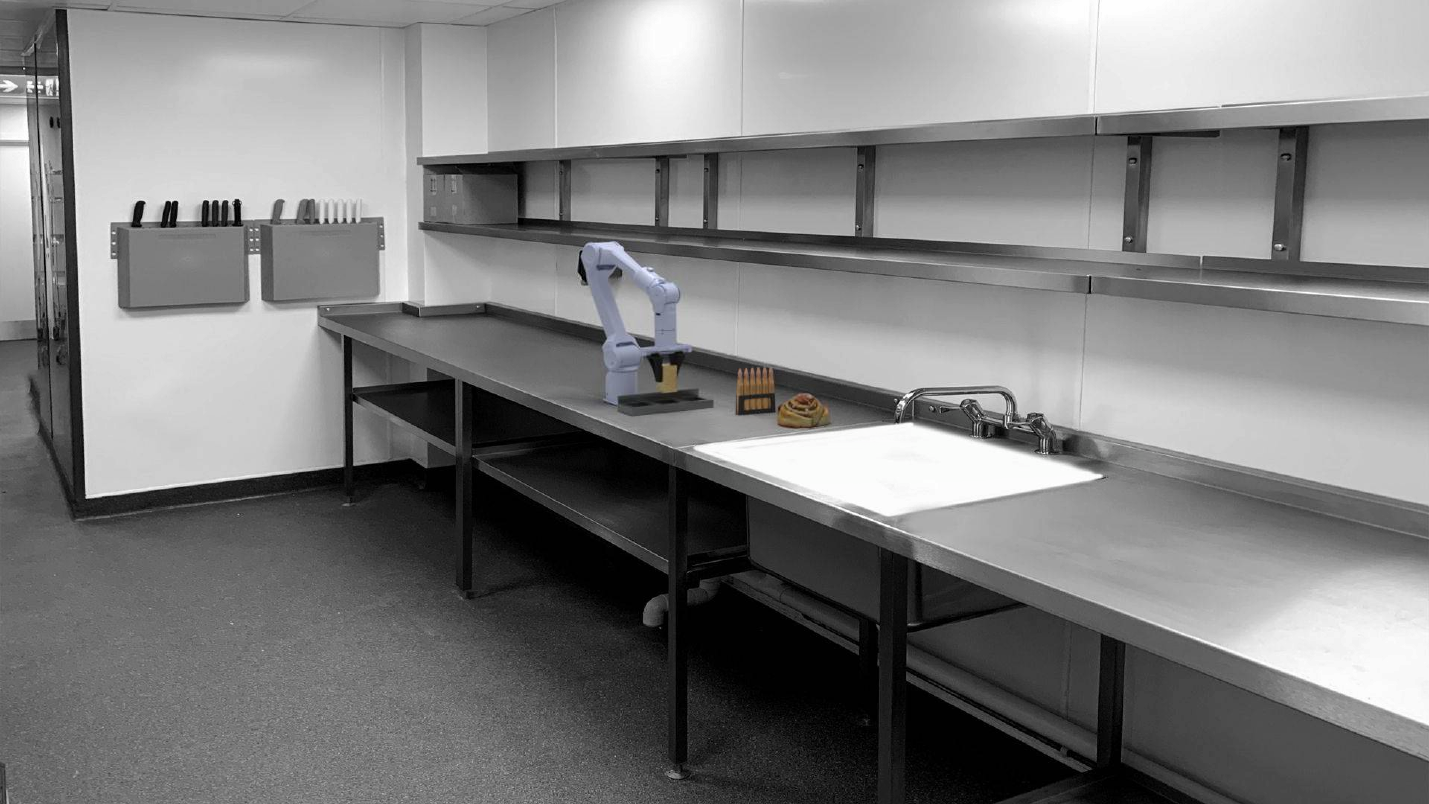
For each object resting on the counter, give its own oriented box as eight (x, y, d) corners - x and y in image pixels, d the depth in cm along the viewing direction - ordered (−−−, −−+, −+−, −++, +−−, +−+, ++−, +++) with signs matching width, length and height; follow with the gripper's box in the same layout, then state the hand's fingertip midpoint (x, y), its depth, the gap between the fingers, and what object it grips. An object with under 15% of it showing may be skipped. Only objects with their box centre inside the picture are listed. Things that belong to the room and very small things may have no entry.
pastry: (781, 430, 289) (781, 397, 288) (772, 418, 304) (772, 387, 302) (835, 428, 290) (835, 396, 289) (824, 417, 305) (824, 386, 304)
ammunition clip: (738, 415, 307) (738, 369, 305) (735, 414, 309) (735, 368, 307) (775, 412, 312) (775, 366, 309) (772, 411, 313) (772, 365, 311)
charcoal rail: (617, 410, 314) (617, 395, 314) (697, 402, 326) (697, 387, 325) (632, 416, 307) (632, 400, 306) (713, 407, 319) (713, 392, 318)
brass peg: (656, 390, 316) (656, 364, 315) (670, 389, 318) (669, 363, 317) (663, 392, 313) (663, 366, 311) (677, 391, 314) (676, 365, 313)
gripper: (647, 332, 306) (648, 385, 308) (697, 329, 313) (697, 380, 315) (635, 330, 312) (636, 382, 314) (684, 326, 319) (684, 377, 321)
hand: (666, 381), depth 315 cm, fingers closed on brass peg, 4 cm apart
